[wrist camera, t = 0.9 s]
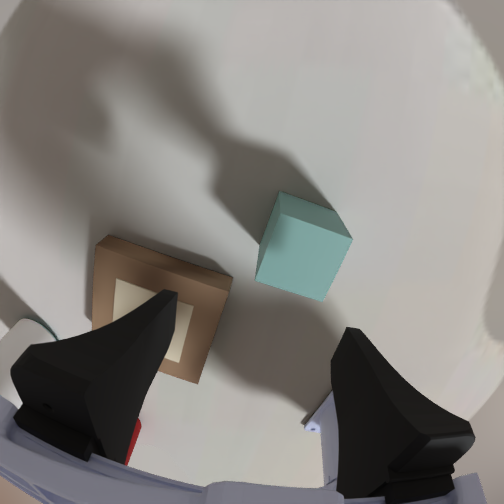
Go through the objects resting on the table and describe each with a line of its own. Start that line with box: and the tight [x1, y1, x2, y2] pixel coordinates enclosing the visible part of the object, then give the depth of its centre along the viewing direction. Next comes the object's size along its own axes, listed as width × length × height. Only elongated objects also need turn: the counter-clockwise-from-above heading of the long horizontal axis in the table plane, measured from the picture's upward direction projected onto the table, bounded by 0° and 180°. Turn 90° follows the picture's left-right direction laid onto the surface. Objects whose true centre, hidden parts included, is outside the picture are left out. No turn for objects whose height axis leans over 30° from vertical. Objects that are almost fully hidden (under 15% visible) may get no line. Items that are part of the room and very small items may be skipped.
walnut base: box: [92, 235, 233, 384], centre depth 23 cm, size 10×10×2 cm
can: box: [0, 319, 57, 409], centre depth 23 cm, size 7×7×12 cm
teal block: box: [255, 191, 353, 302], centre depth 19 cm, size 4×4×5 cm
